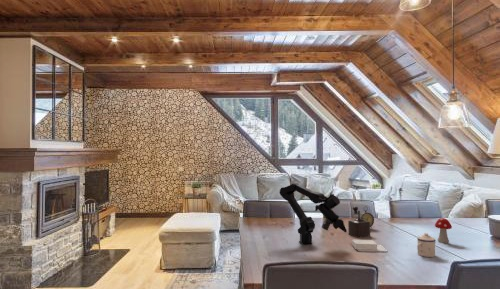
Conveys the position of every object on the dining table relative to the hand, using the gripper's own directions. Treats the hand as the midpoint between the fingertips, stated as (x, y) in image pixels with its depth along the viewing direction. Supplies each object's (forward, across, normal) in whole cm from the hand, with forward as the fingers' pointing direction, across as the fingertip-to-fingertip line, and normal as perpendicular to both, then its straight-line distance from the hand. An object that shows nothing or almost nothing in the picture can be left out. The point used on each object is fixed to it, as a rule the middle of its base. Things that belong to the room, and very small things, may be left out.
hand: (346, 231), depth 212 cm
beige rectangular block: (+8, -1, -2) cm, 9 cm away
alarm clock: (+24, -56, +11) cm, 62 cm away
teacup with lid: (+34, +11, +22) cm, 42 cm away
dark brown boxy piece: (+17, -37, +3) cm, 41 cm away
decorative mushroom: (+50, -20, +39) cm, 67 cm away
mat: (+16, 0, +4) cm, 17 cm away
